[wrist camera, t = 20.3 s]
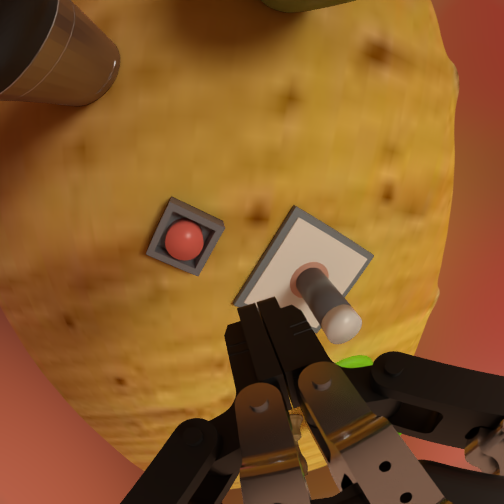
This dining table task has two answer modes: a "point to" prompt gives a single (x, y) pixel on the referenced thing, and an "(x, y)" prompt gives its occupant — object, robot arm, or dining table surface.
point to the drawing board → (303, 263)
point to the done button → (184, 239)
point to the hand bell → (296, 424)
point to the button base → (210, 231)
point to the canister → (328, 306)
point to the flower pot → (301, 4)
